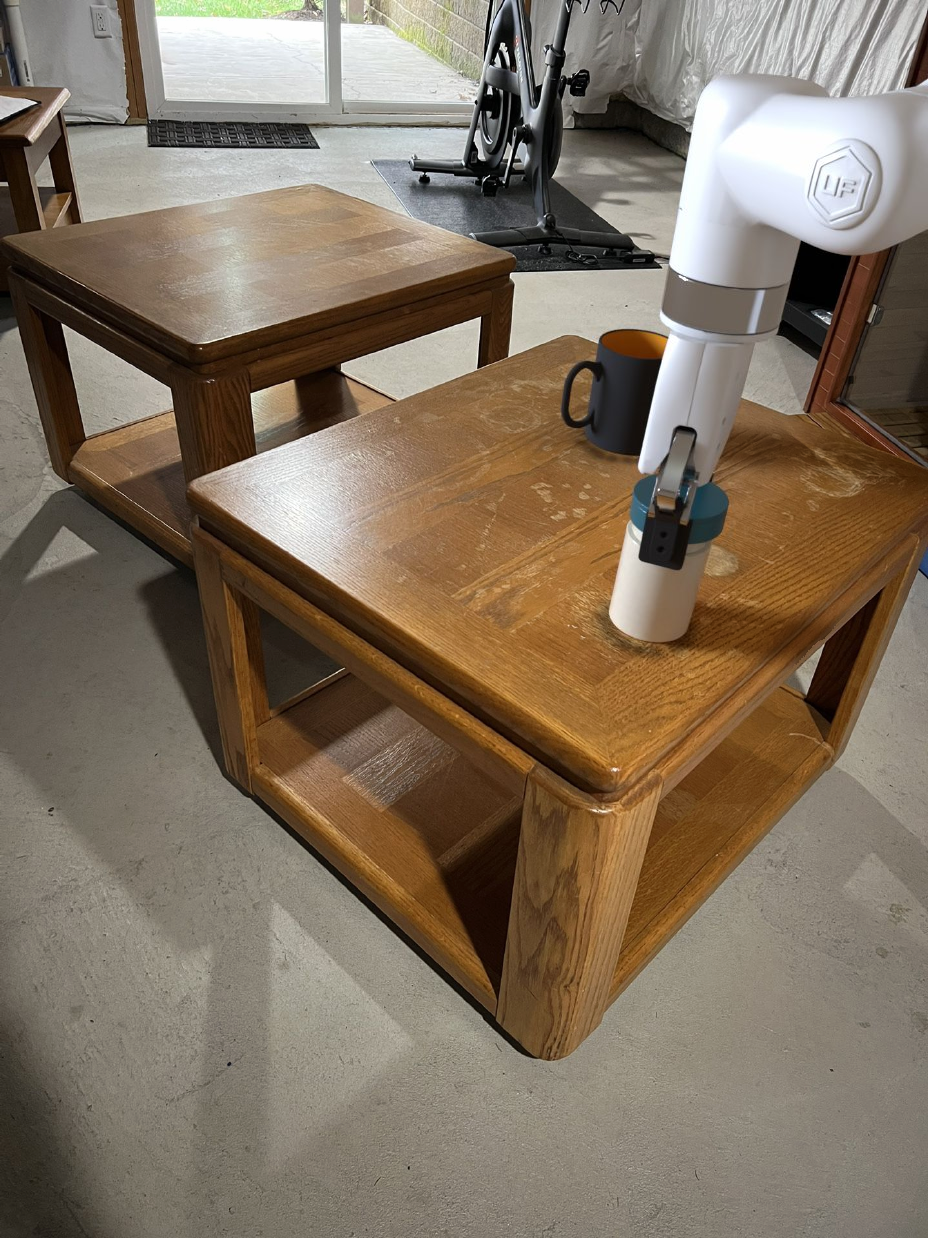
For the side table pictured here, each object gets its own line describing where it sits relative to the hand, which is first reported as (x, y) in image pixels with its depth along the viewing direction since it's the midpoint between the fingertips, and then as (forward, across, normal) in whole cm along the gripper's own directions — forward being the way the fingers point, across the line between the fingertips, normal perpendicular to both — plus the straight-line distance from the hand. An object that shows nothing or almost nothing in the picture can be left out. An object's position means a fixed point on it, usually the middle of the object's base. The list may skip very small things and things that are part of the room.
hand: (671, 537), depth 70 cm
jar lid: (-3, 0, 0) cm, 3 cm away
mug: (+8, -30, -12) cm, 33 cm away
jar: (+8, 0, 0) cm, 8 cm away
